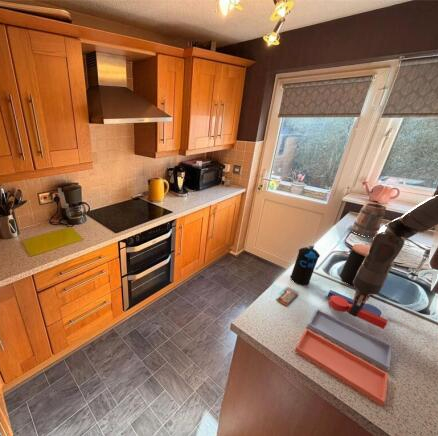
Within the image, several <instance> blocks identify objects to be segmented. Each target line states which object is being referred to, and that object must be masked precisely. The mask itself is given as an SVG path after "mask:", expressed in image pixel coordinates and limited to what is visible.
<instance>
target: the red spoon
mask: <svg viewBox="0 0 438 436" xmlns="http://www.w3.org/2000/svg"><path fill="white" fill-rule="evenodd" d="M327 304H328V306H329V307H330V308H331V309H333V310H335V311H336V312H340V313H347V314H349V312H350V310H351V308H352V307H351V306H352V304H349V302H348V301H347V300H346V299H344V298H342V297H340V296H331V297H330V299H329V300H328V303H327ZM356 318H358V319H360V320H362V321H365V322H366V323H368V324H371V325H373V326H375V327H378V328H380V329H382V330H384V329H385V328H386V326H387V325H388V319H387V318H385V317H382V316H378V315H375V314H373V313H371V312H368V311H366V310H364V309H362V308H361V311H360V312H358V314H357V316H356Z"/></svg>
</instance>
